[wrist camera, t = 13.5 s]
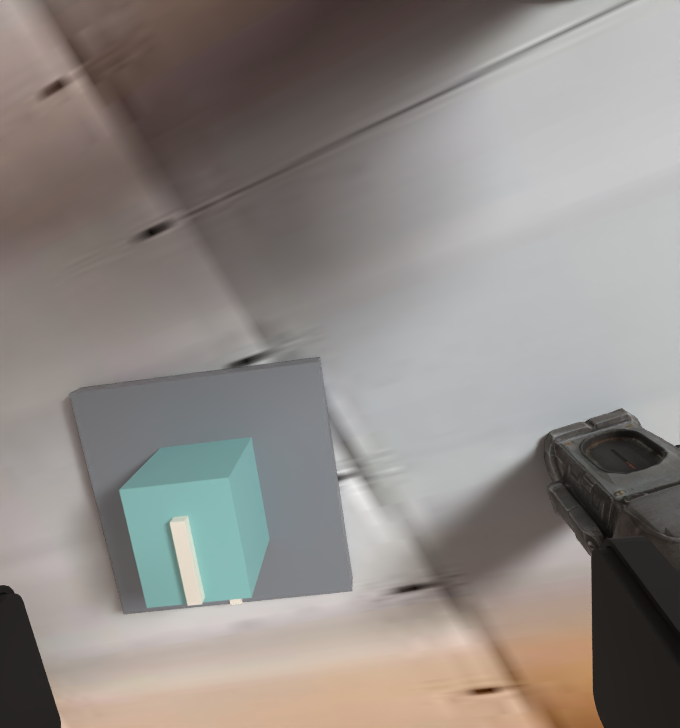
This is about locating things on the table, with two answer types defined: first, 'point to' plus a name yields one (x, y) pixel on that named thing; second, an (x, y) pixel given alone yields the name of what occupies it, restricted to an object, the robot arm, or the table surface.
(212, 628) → the table surface
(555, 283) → the table surface
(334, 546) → the grey flat block
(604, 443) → the toy
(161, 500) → the teal block
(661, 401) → the table surface
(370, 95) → the table surface
